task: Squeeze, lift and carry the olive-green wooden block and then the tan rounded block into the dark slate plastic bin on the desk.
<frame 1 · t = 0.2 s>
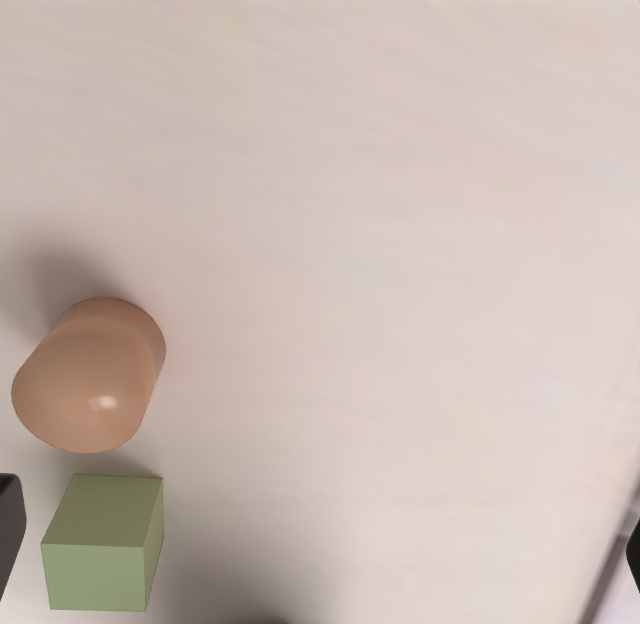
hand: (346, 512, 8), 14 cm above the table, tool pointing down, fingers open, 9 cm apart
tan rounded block: (111, 345, 23), on the table
green block: (121, 506, 27), on the table
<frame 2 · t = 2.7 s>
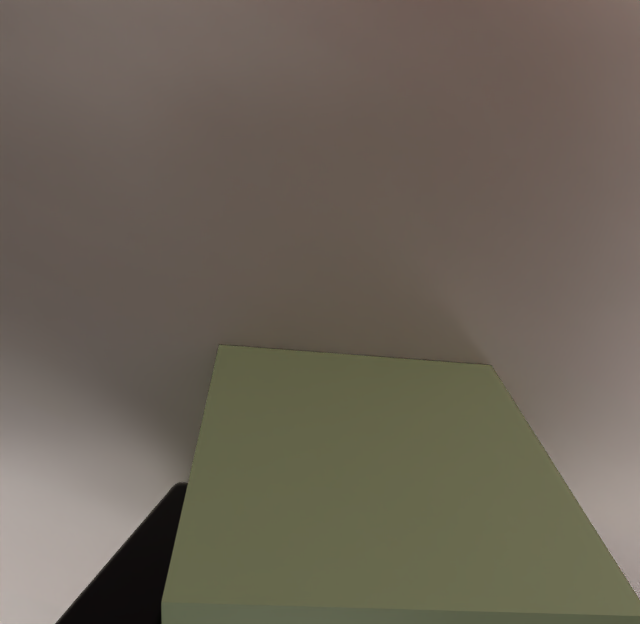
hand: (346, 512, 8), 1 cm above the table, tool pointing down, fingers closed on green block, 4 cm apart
green block: (340, 462, 9), on the table, touching gripper
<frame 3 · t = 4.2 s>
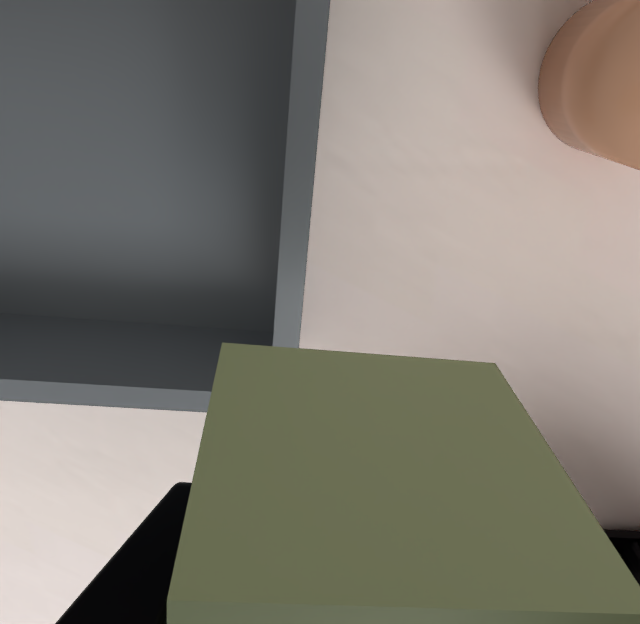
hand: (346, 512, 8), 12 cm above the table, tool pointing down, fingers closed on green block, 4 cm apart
bin: (87, 131, 17), on the table
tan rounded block: (610, 76, 17), on the table
green block: (343, 461, 9), point 11 cm above the table, touching gripper
when the fingers open (5 cm above the table, at t = 5.7 s): green block drops 4 cm, resting on bin.
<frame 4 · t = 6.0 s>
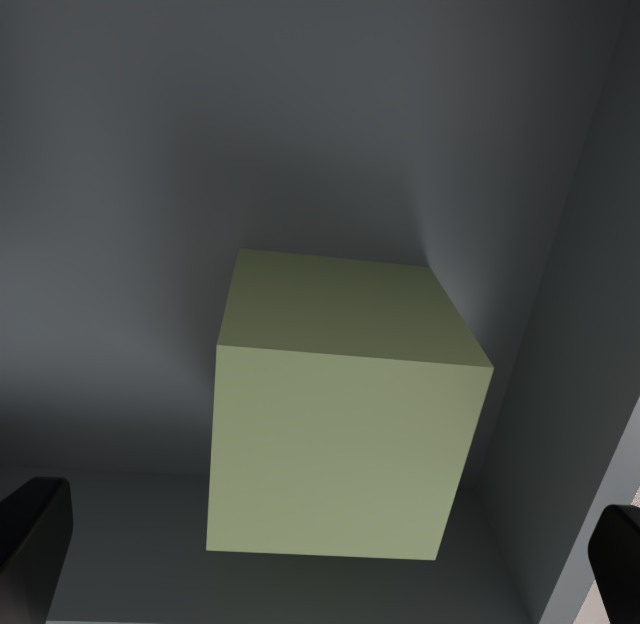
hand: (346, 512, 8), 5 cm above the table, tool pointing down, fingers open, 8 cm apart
bin: (263, 243, 12), on the table
green block: (323, 342, 12), point 1 cm above the table, touching bin
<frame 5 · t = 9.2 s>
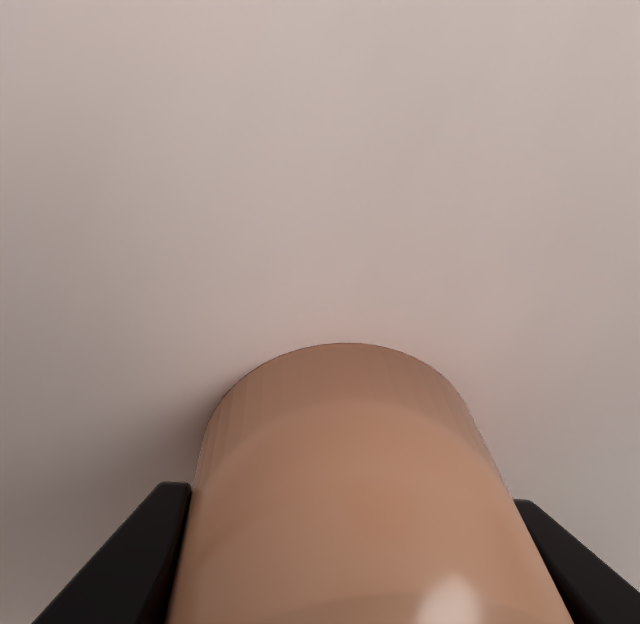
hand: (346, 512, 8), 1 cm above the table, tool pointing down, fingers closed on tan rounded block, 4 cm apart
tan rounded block: (339, 462, 9), on the table, touching gripper
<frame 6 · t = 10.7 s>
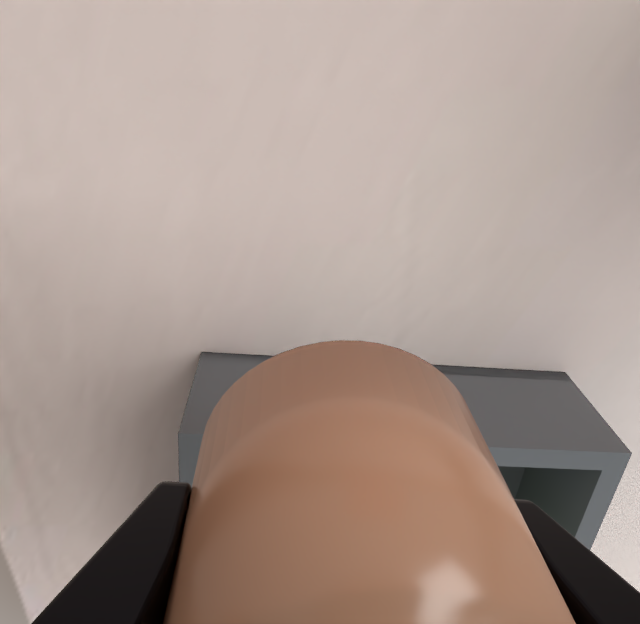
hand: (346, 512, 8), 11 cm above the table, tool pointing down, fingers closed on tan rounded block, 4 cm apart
bin: (364, 500, 23), on the table
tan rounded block: (339, 460, 9), point 10 cm above the table, touching gripper
when the fingers open (6 cm above the table, at t = 12.5 s): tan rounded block drops 2 cm and tips over, resting on bin.
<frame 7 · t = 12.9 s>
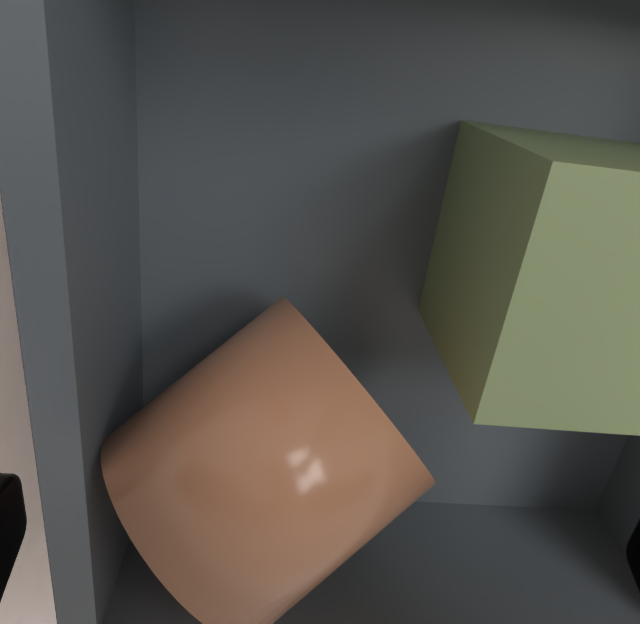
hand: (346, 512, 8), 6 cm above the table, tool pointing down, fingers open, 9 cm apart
bin: (419, 280, 12), on the table
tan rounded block: (355, 387, 10), point 3 cm above the table, tilted 72°, touching bin
green block: (531, 232, 11), point 1 cm above the table, touching bin
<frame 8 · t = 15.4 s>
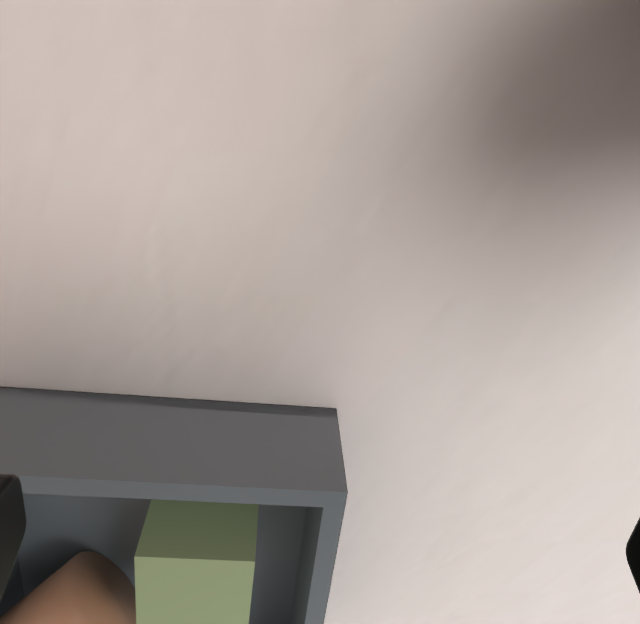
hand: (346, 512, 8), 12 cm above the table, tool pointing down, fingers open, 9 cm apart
bin: (163, 525, 24), on the table
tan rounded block: (109, 599, 22), point 3 cm above the table, tilted 72°, touching bin
green block: (208, 512, 23), point 1 cm above the table, touching bin
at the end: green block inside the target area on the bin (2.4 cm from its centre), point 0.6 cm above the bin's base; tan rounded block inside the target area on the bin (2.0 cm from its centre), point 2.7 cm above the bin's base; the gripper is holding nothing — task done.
